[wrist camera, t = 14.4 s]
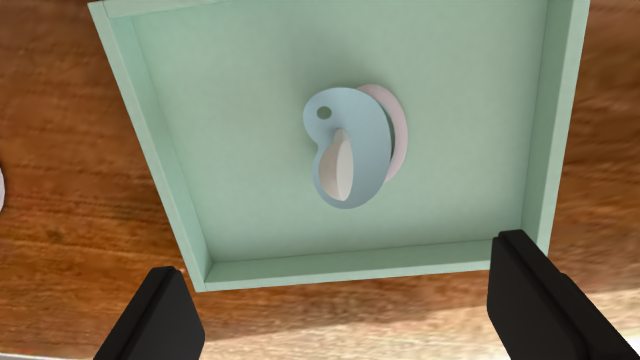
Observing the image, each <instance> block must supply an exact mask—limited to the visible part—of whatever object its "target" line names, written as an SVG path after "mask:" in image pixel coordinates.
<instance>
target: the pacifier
mask: <svg viewBox="0 0 640 360" xmlns="http://www.w3.org/2000/svg"><path fill="white" fill-rule="evenodd" d="M379 104H380V105H381V106H382V107H383V108H384V109H385V110H386V111H387V113H388V114H389V116H390V119H391V122H392V125H393V132H394V142H393V148H392V152H391V137H390V130H389V125H388V122H387V119H386V116H385V114H384V112H383V110H382V108H381V107H380V106H379ZM323 106H326V107H329V108H330V109H331V111H332V113H331V115H330V116H329V117H327V118H321V117H319V116H318V115H317V110H318V109H319V108H320V107H323ZM303 122H304V126H305V129H306V131H307V132H308V134H309V136H310V137H311V138H312V140H314V141H315V142H316V143H317V145H318V152H317V154H316V156H315V159H314V162H313V168H312V177H313V182H314V186H315V188H316V190H317V192H318V194H319V195H320V196H321V198H322V199H323V200H324V201H325V202H327V203H328V204H329V205H331V206H333V207H336V208H339V209H352V208H356V207H359V206H361V205H363V204H365V203H366V202H367V201H369V200H370V199H372V198H373V197H374V196H375V195H376V194H377V193H378V191H379V190H380V188H381V187H382V185H383V184H384V183H386V182H387V181H389V180H390V179H391V178H393V177H394V175H395V174H396V173H397V172H398V171H399V169H400V167H401V165H402V163H403V161H404V159H405V155H406V151H407V147H408V128H407V120H406V117H405V114H404V112H403V109H402V107H401V105H400V103H399V102H398V100H397V98H396V97H395V96H394V95H393V94H392V93H391V92H390V91H389V90H388V89H386V88H384V87H382V86H379V85H376V84H366V85H363V86H360V87H357V88H356V89H355V88H350V87H331V88H327V89H324V90H321V91H319V92H317V93H316V94H315V95H313V96H312V97H311V98H310V100H309V101H308V102H307V104H306V106H305V108H304V111H303Z"/></svg>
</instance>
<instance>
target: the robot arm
mask: <svg viewBox="0 0 640 360" xmlns="http://www.w3.org/2000/svg"><path fill="white" fill-rule="evenodd" d="M4 195H5V189H4V180H3V175H2V172H1V169H0V211H1V208H2V206H3V202H4ZM487 312H488V315H489V318H490V320H491V322H492V324H493V326H494V328H495V330H496V332H497V334H498V335H499V337H500V339H501V341H502V343H503V345H504V347H505V349H506V351H507V353H508V355H509V357H510V358H511V360H640V356H639V355H638V354H637V353H636V351H635V350H634V349H633V348H632V347H631V346H630V345H629V344H628V342H627V341H626V340H625V339H624V338H623V337H622V336H621V335H620V333H619V332H618V331H617V330H616V329H615V328H614V327H613V326H612V324H611V323H610V322H609V321H608V320H607V319H606V318H605V317H604V315H603V314H602V313H601V312H600V311H599V310H598V309H597V308H596V306H595V305H594V304H593V303H592V302H591V301H590V300H589V299H588V297H587V296H586V295H585V294H584V293H583V292H582V291H581V290H580V288H579V287H578V286H577V285H576V284H575V283H574V282H573V281H572V280H571V278H569V277H568V276H567V275H566V274H564V273H560V271H559V270H558V269H557V268H556V267H555V266H554V265H553V263H552V262H551V261H550V260H549V259H548V258H547V257H546V255H545V254H544V253H543V252H542V251H541V250H540V249H539V247H538V246H537V245H536V244H535V243H534V242H533V240H532V239H531V238H530V237H529V236H528V235H527V234H526V232H525V231H523V230H522V229H516V230H507V231H500V232H499V234H498V237H493V239H492V248H491V260H490V272H489V283H488V295H487ZM204 342H205V332H204V329H203V326H202V324H201V321H200V319H199V316H198V314H197V311H196V309H195V306H194V303H193V301H192V298H191V296H190V293H189V291H188V288H187V285H186V283H185V280H184V278H183V275H182V273H181V271H180V270H176V269H175V267H173V266H165V267H156V268H152V269H151V270H150V272H149V273H148V275H147V276H146V278H145V280H144V281H143V283H142V284H141V286H140V287H139V289H138V290H137V292H136V293H135V295H134V297H133V298H132V300H131V301H130V303H129V304H128V306H127V307H126V309H125V310H124V312H123V314H122V315H121V317H120V318H119V320H118V321H117V323H116V324H115V326H114V327H113V329H112V330H111V332H110V334H109V335H108V337H107V338H106V340H105V341H104V343H103V344H102V346H101V347H100V349H99V351H98V352H97V354H96V355H95V357H94V358H93V360H199V357H200V354H201V351H202V348H203V346H204Z"/></svg>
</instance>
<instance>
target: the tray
mask: <svg viewBox="0 0 640 360" xmlns="http://www.w3.org/2000/svg"><path fill="white" fill-rule="evenodd" d="M87 5H88V8H89V10H90V13H91V16H92V18H93V21H94V24H95V26H96V29H97V32H98V34H99V37H100V39H101V42H102V45H103V47H104V50H105V53H106V55H107V58H108V61H109V63H110V66H111V69H112V71H113V74H114V77H115V79H116V82H117V84H118V87H119V90H120V92H121V95H122V98H123V100H124V103H125V106H126V108H127V111H128V114H129V116H130V119H131V122H132V124H133V127H134V129H135V132H136V135H137V137H138V140H139V143H140V145H141V148H142V151H143V153H144V156H145V159H146V161H147V164H148V166H149V169H150V172H151V174H152V177H153V180H154V182H155V185H156V188H157V190H158V193H159V196H160V198H161V201H162V204H163V206H164V209H165V211H166V214H167V217H168V219H169V222H170V225H171V227H172V230H173V233H174V235H175V238H176V241H177V243H178V246H179V248H180V251H181V254H182V256H183V259H184V262H185V264H186V267H187V270H188V272H189V275H190V278H191V280H192V283H193V286H194V288H195V291H196V292H205V291H217V290H230V289H242V288H255V287H268V286H281V285H294V284H307V283H320V282H332V281H345V280H358V279H371V278H384V277H397V276H410V275H422V274H435V273H448V272H461V271H474V270H487V269H490V260H491V248H492V239H493V237H498V234H499V232H500V231H507V230H516V229H522V230H523V231H525V232H526V234H527V235H528V236H529V237H530V238H531V239H532V240H533V242H534V243H535V244H536V245H537V246H538V247H539V249H540V250H541V251H542V252H543V253H544V254H545V255H546V257H547V253H548V247H549V241H550V235H551V230H552V224H553V218H554V212H555V206H556V200H557V194H558V188H559V182H560V176H561V170H562V165H563V159H564V153H565V147H566V141H567V135H568V129H569V123H570V117H571V111H572V105H573V100H574V94H575V88H576V82H577V76H578V70H579V64H580V58H581V52H582V46H583V40H584V35H585V29H586V23H587V17H588V11H589V5H590V0H104V1H96V2H90V3H87ZM366 84H376V85H379V86H382V87H384V88H386V89H388V90H389V91H390V92H391V93H392V94H393V95H394V96H395V97H396V98H397V100H398V102H399V103H400V105H401V107H402V109H403V112H404V114H405V117H406V120H407V128H408V147H407V151H406V155H405V159H404V161H403V163H402V165H401V167H400V169H399V171H398V172H397V173H396V174H395V175H394V177H393V178H391V179H390V180H389V181H387V182H386V183H384V184H383V185H382V187H381V188H380V190H379V191H378V193H377V194H376V195H375V196H374V197H373V198H372V199H370V200H369V201H367V202H366V203H365V204H363V205H361V206H359V207H356V208H352V209H339V208H336V207H333V206H331V205H329V204H328V203H327V202H325V201H324V200H323V199H322V198H321V196H320V195H319V194H318V192H317V190H316V188H315V186H314V182H313V177H312V168H313V162H314V159H315V156H316V154H317V152H318V145H317V143H316V142H315V141H314V140H312V138H311V137H310V136H309V134H308V132H307V131H306V129H305V126H304V122H303V111H304V108H305V106H306V104H307V102H308V101H309V100H310V98H311V97H312V96H313V95H315V94H316V93H317V92H319V91H321V90H324V89H327V88H331V87H350V88H355V89H356V88H357V87H360V86H363V85H366ZM379 106H380V107H381V108H382V110H383V112H384V114H385V116H386V119H387V122H388V125H389V130H390V137H391V152H392V148H393V142H394V132H393V125H392V122H391V119H390V116H389V114H388V113H387V111H386V110H385V109H384V108H383V107H382V106H381V105H380V104H379ZM331 113H332V111H331V109H330V108H329V107H326V106H323V107H320V108H319V109H318V110H317V115H318V116H319V117H321V118H327V117H329V116H330V115H331Z"/></svg>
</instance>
